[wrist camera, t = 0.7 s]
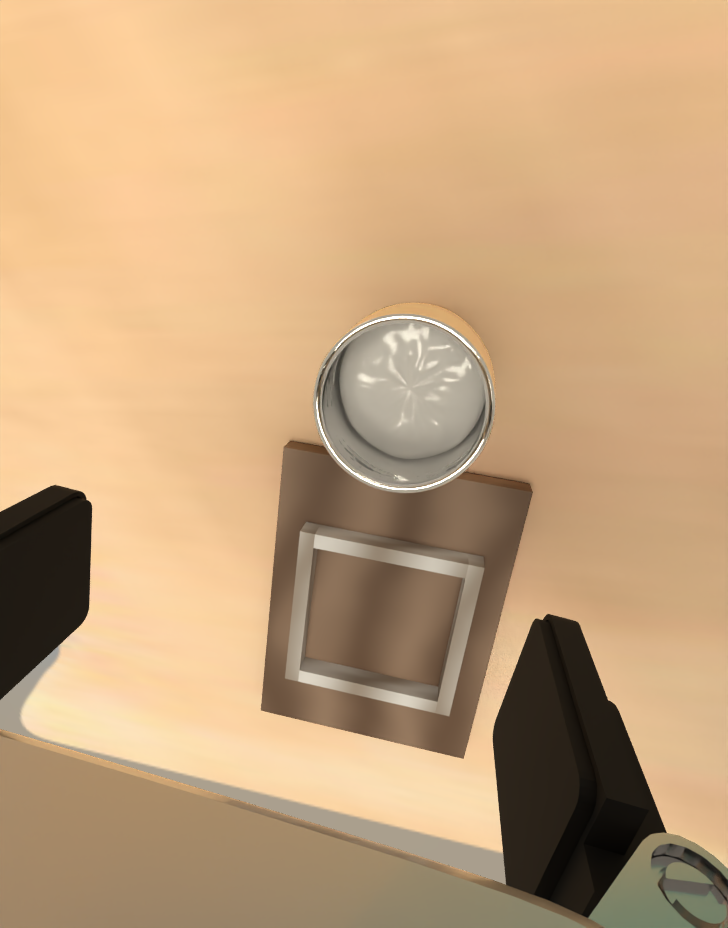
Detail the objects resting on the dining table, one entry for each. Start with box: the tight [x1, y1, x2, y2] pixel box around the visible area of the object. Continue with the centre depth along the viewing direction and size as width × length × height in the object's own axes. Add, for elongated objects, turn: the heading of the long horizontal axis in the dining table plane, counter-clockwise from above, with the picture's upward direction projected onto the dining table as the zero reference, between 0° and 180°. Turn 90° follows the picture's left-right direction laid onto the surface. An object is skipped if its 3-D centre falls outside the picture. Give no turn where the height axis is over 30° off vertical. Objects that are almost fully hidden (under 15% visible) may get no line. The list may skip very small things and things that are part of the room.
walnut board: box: [261, 441, 533, 759], centre depth 38 cm, size 16×22×3 cm
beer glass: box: [313, 303, 496, 493], centre depth 26 cm, size 7×7×15 cm
